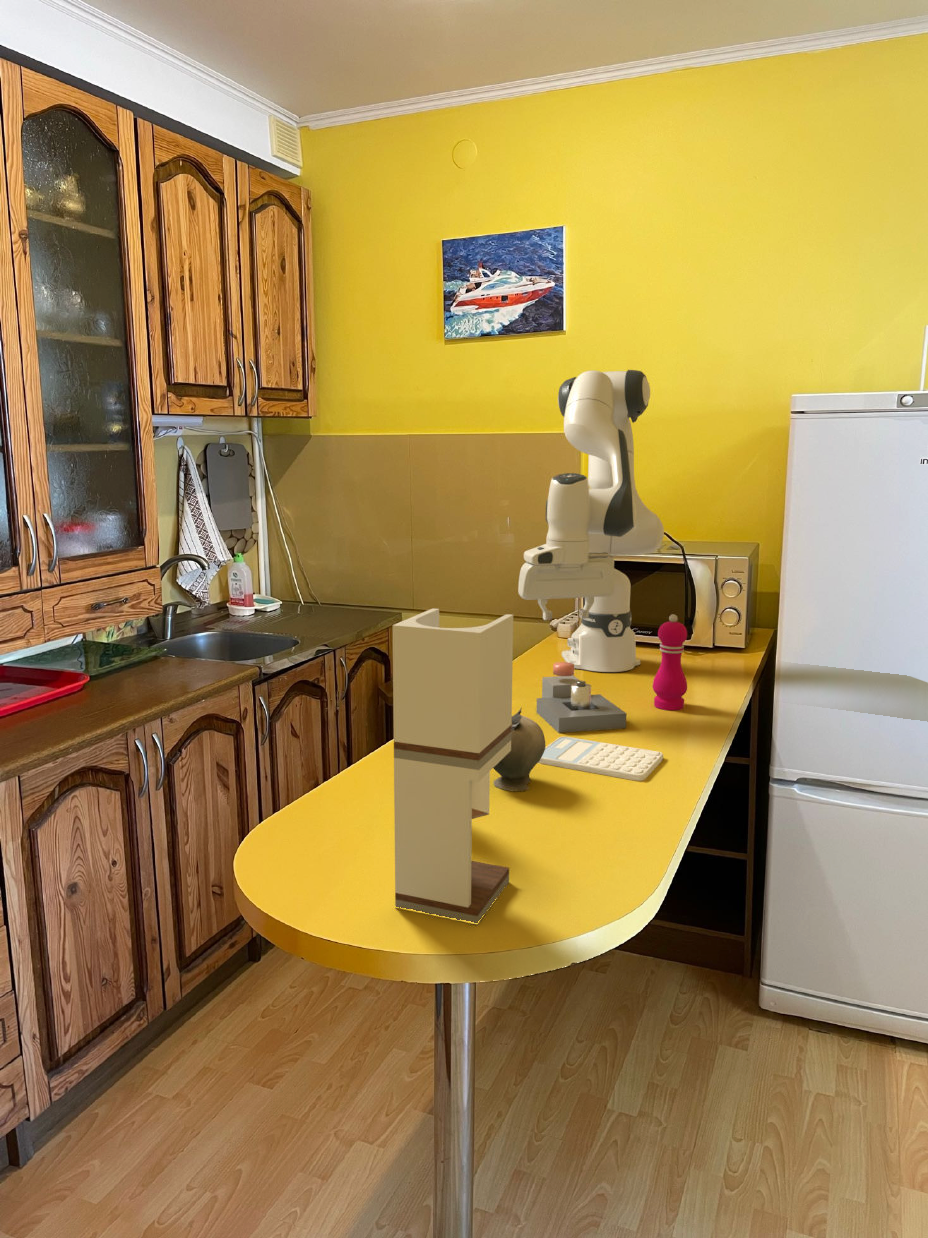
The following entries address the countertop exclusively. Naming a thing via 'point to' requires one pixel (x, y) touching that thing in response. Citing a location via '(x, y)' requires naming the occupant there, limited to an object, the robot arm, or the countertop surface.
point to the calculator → (601, 758)
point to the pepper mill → (670, 667)
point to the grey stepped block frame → (564, 720)
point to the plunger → (563, 669)
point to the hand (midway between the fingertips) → (565, 618)
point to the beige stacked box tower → (447, 759)
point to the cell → (580, 696)
